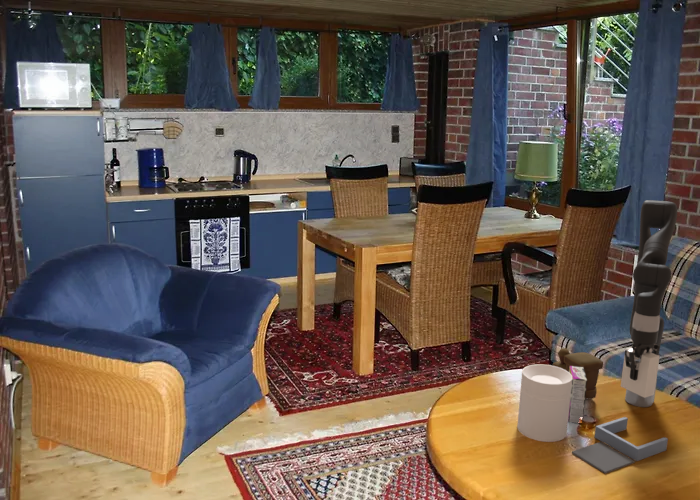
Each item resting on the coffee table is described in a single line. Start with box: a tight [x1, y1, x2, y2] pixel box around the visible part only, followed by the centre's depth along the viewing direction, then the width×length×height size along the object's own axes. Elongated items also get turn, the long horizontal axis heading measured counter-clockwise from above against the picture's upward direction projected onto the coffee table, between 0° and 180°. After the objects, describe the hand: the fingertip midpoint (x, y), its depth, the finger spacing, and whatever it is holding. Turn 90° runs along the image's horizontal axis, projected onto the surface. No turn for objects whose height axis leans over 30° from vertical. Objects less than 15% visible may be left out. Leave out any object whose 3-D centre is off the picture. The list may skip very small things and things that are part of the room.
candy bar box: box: [568, 366, 587, 424], centre depth 237 cm, size 11×5×16 cm, turn 168°
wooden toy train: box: [552, 347, 604, 401], centre depth 254 cm, size 20×11×17 cm, turn 22°
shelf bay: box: [594, 416, 669, 462], centre depth 221 cm, size 14×16×4 cm
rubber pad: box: [571, 441, 636, 474], centre depth 213 cm, size 13×13×1 cm
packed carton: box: [620, 346, 660, 398], centre depth 215 cm, size 4×9×13 cm, turn 29°
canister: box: [517, 363, 572, 443], centre depth 227 cm, size 16×16×20 cm
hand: (638, 377), depth 216 cm, fingers closed on packed carton, 4 cm apart
